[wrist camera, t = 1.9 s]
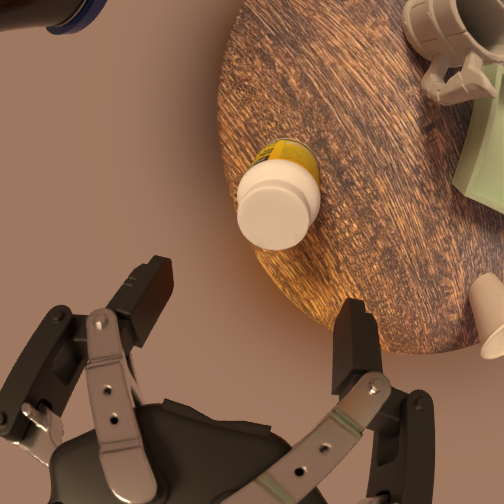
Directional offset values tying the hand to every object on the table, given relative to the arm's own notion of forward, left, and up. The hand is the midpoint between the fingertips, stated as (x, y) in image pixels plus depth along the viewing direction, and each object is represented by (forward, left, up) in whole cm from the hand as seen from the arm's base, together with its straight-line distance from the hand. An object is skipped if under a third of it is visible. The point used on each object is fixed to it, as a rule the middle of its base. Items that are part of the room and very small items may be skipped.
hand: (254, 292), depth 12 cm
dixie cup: (+32, -9, -18) cm, 38 cm away
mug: (+11, +16, -18) cm, 27 cm away
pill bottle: (0, 0, -18) cm, 18 cm away
